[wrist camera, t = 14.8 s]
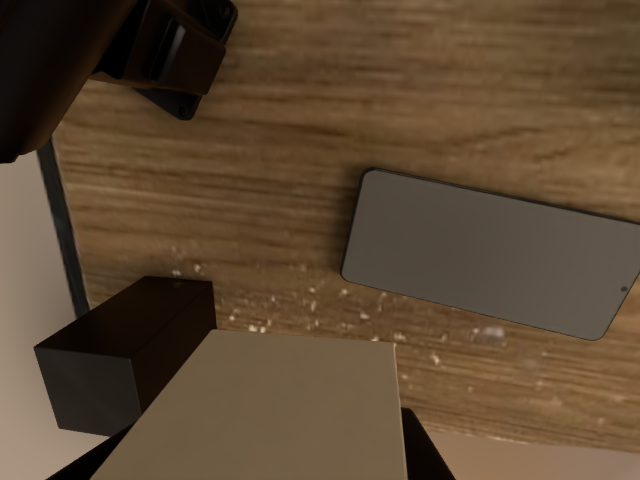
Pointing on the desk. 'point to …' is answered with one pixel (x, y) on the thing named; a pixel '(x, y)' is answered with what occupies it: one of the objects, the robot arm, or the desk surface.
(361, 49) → the desk surface
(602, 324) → the smartphone
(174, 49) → the robot arm
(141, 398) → the stand
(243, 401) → the block
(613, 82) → the desk surface
